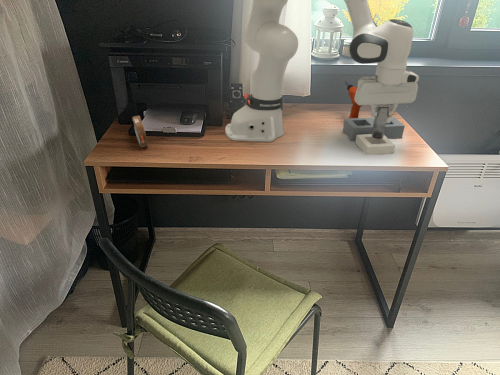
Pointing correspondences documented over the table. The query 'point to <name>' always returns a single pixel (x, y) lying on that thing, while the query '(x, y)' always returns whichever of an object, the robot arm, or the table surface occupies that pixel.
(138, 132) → the tin
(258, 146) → the table surface
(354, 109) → the toy drill
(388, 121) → the gold topped white cylinder
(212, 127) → the table surface
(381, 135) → the grey metal peg
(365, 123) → the socket block
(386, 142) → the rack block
